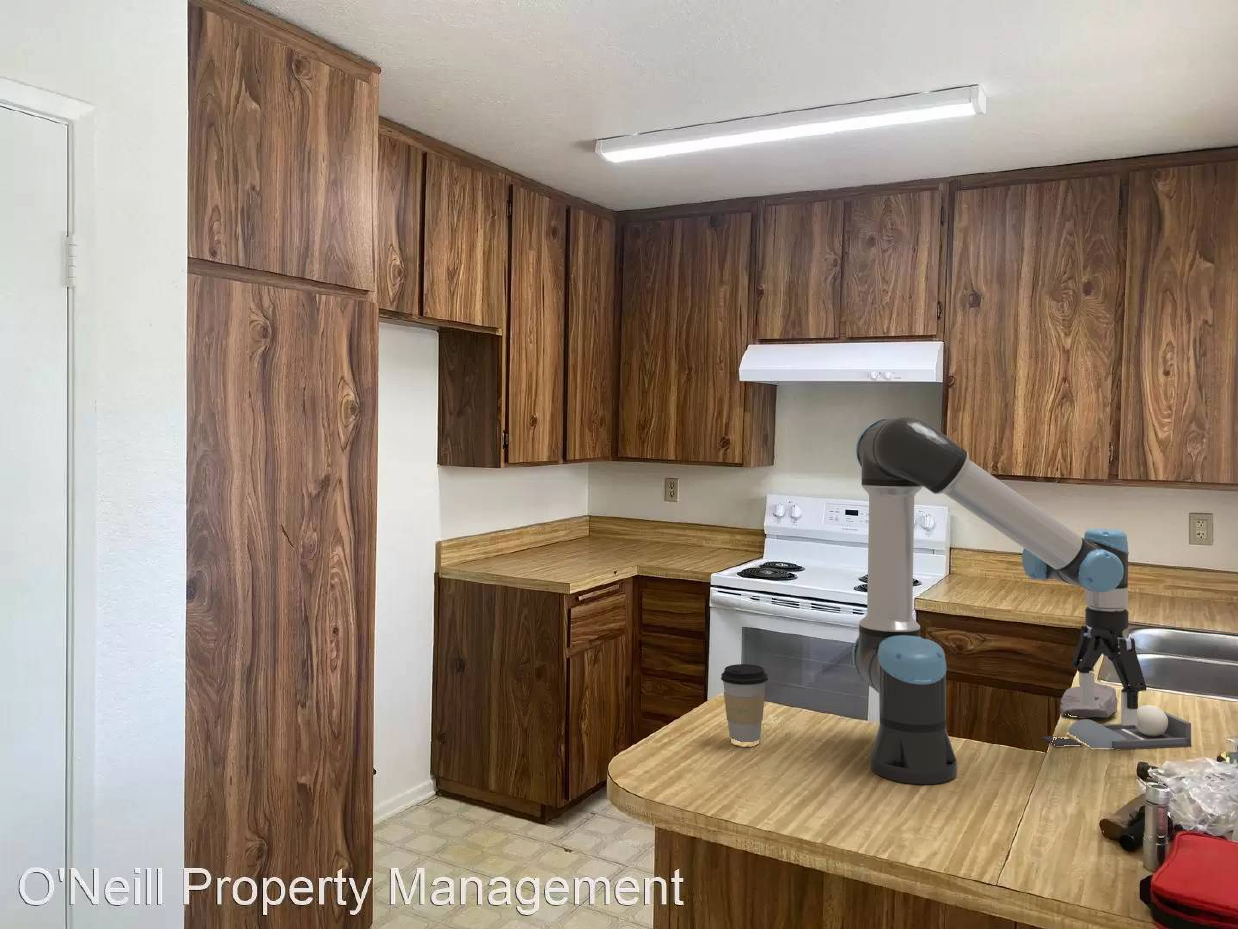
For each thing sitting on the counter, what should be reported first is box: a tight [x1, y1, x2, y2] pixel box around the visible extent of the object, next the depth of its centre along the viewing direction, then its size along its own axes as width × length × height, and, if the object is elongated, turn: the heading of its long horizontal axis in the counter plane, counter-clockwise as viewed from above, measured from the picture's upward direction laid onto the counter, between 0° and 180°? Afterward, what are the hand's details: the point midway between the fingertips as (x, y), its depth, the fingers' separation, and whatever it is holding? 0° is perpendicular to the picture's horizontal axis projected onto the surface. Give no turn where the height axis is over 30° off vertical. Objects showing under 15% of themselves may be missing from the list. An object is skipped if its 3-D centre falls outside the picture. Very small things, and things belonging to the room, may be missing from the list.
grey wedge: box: [1067, 718, 1127, 749], centre depth 180 cm, size 9×8×8 cm
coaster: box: [1042, 735, 1082, 747], centre depth 179 cm, size 5×5×1 cm
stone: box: [1059, 682, 1119, 719], centre depth 197 cm, size 13×10×6 cm
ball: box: [1135, 704, 1168, 736], centre depth 181 cm, size 6×6×6 cm
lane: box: [1101, 710, 1192, 750], centre depth 180 cm, size 16×11×4 cm
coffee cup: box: [720, 663, 769, 742], centre depth 183 cm, size 9×9×15 cm
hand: (1107, 714), depth 180 cm, fingers open, 13 cm apart
